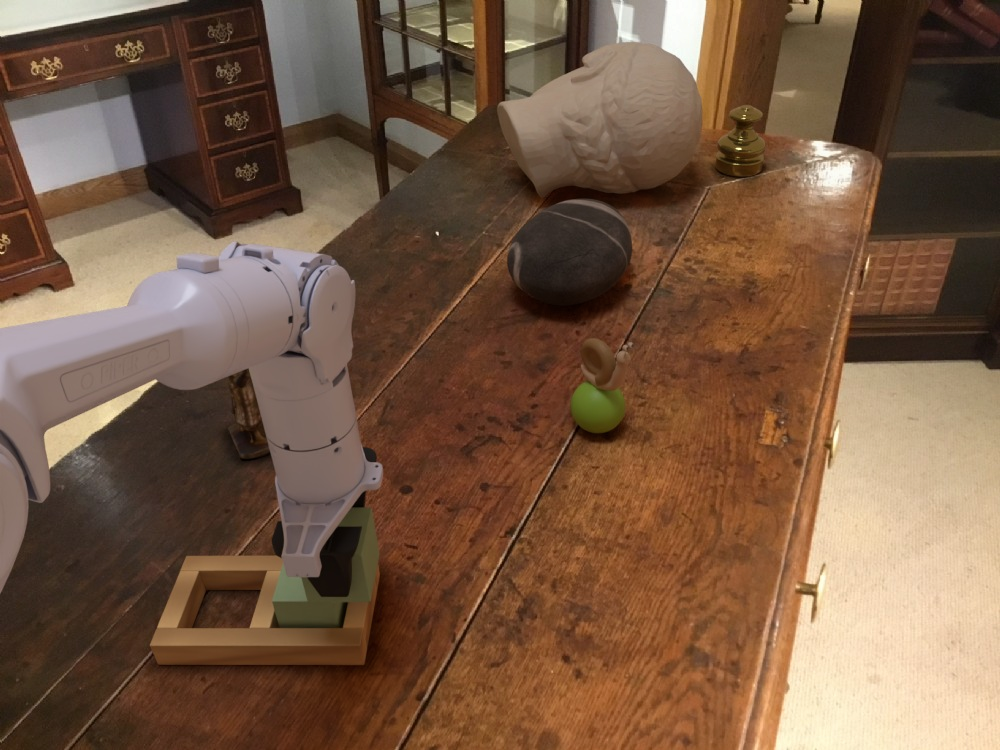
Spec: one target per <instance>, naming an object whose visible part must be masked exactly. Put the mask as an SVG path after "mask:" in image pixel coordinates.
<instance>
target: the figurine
mask: <svg viewBox="0 0 1000 750" xmlns="http://www.w3.org/2000/svg"><path fill="white" fill-rule="evenodd" d="M227 378H228V383H227V385H228V388H229V391H230V397H231V398H230V399H231V409H230V413H231V414H233V416H234V418H235V419H234V420H235V423H232V425H230V426H228V427H227V430H228V433H229V435H230V438H231V439H232V443H233V444H234V447H235V449H236V451H237V453H238V456H239V458H240V459H244V460H253V459H257V458H263V457H266V456H268V455H271V453H270V449H269V445H268V441H267V437H266V433H265V429H264V425H263V421H262V418H261V414H260V410H259V406H258V402H257V398H256V394H255V391H254V387H253V383H252V379H251V375H250V372H249V368H248V369H245V370H243V371H240V372H238V373H235V374H233V375H230V376H228V377H227Z"/></svg>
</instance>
